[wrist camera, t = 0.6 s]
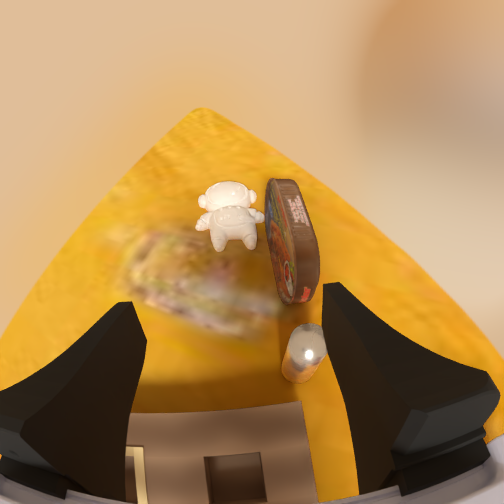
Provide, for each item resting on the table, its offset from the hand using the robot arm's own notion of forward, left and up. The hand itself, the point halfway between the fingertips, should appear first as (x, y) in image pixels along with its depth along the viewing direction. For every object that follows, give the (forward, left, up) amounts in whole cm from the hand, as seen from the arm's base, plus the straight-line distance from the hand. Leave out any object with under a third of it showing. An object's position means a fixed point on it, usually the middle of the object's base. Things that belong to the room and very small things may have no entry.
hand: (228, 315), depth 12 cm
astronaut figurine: (+24, -1, -20) cm, 31 cm away
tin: (+16, -7, -20) cm, 26 cm away
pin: (+3, -6, -19) cm, 20 cm away
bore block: (-7, +6, -19) cm, 21 cm away
